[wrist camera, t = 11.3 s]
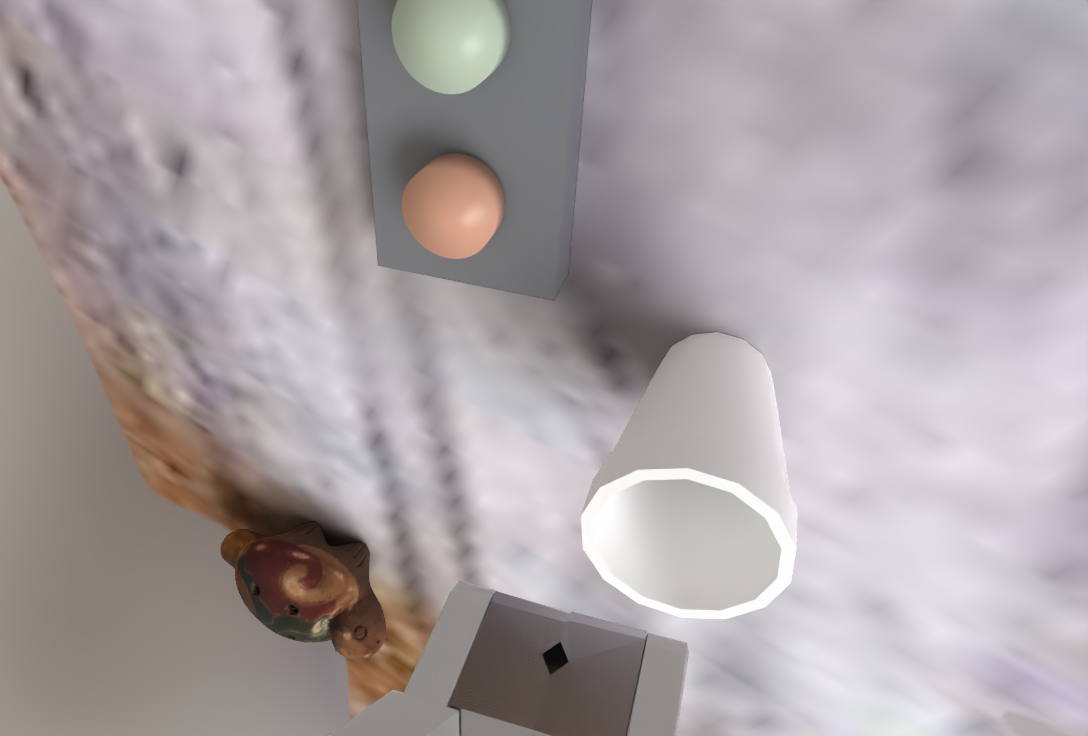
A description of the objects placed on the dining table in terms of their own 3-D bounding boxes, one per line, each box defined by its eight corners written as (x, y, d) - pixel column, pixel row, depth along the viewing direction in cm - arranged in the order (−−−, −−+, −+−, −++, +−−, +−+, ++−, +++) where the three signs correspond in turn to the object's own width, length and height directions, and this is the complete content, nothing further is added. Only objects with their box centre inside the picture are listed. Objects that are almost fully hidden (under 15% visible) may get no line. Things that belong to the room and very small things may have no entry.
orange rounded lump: (524, 141, 39) (493, 177, 35) (520, 225, 42) (491, 266, 38) (437, 127, 40) (399, 161, 36) (439, 210, 43) (404, 249, 39)
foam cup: (827, 337, 41) (830, 511, 31) (770, 461, 47) (757, 642, 37) (652, 288, 42) (600, 441, 32) (617, 415, 48) (564, 578, 38)
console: (624, -366, 28) (606, -381, 25) (568, 273, 43) (554, 300, 41) (364, -375, 30) (325, -390, 27) (400, 241, 45) (378, 265, 43)
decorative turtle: (417, 612, 66) (369, 696, 61) (263, 548, 69) (202, 623, 63) (419, 543, 60) (365, 630, 54) (248, 476, 63) (180, 552, 57)
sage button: (531, -37, 34) (497, -17, 31) (527, 71, 37) (494, 101, 33) (433, -49, 35) (388, -31, 31) (435, 58, 38) (394, 86, 34)
